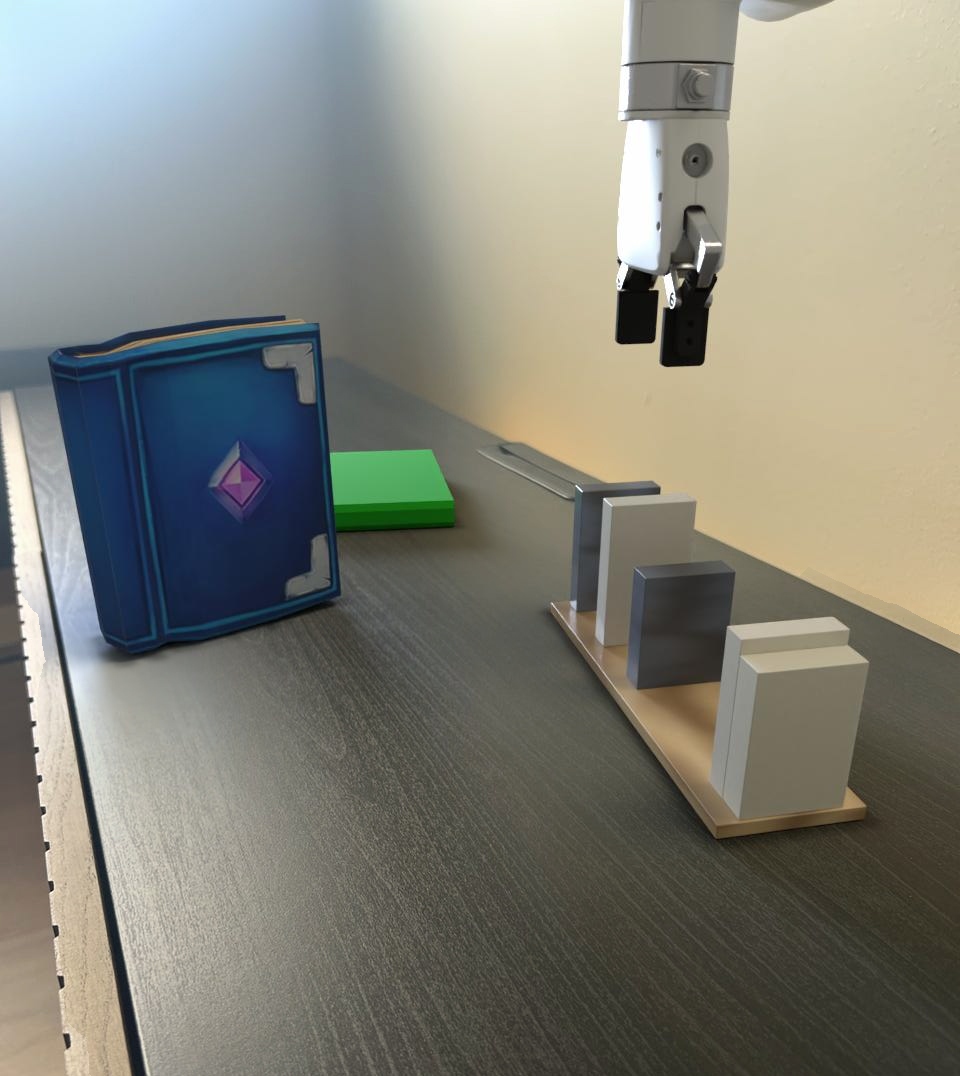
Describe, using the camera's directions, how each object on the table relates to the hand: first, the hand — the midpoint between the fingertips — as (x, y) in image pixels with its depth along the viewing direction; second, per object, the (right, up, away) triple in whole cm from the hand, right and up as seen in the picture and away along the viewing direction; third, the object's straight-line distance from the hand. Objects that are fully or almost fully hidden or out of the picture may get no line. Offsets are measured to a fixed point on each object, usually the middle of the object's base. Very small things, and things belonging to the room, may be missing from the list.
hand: (657, 353), depth 79 cm
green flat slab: (-32, -5, +45) cm, 56 cm away
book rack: (+2, -26, +1) cm, 26 cm away
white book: (0, -21, +9) cm, 23 cm away
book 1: (-36, -20, +14) cm, 43 cm away
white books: (+5, -31, -13) cm, 34 cm away
